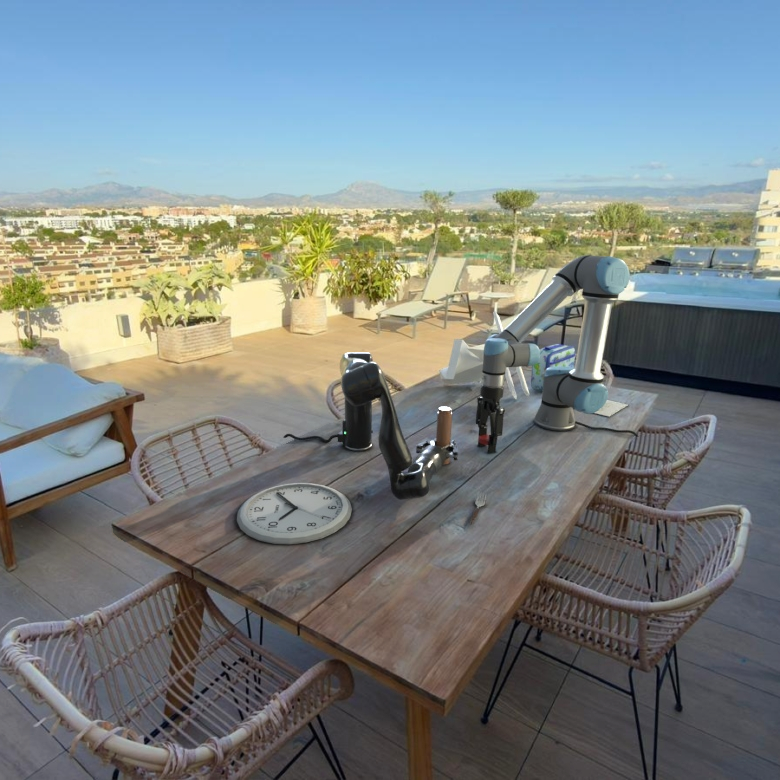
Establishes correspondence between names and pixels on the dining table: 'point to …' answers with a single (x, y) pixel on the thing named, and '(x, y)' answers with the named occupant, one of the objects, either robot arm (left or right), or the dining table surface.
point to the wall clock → (294, 513)
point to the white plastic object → (474, 364)
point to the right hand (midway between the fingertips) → (486, 449)
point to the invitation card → (610, 408)
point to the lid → (484, 439)
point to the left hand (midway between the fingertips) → (445, 441)
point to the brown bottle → (444, 428)
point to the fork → (478, 503)
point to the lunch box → (551, 362)
